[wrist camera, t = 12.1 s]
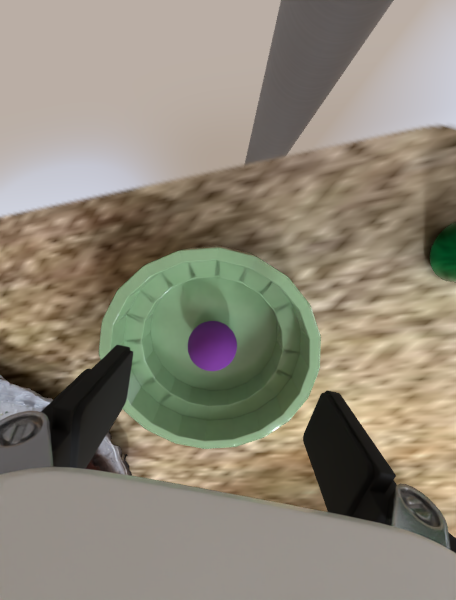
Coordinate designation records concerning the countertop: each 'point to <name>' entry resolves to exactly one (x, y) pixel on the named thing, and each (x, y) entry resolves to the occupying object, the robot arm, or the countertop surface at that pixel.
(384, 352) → the countertop surface
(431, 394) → the countertop surface
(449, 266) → the soda can
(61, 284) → the countertop surface
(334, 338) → the countertop surface
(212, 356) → the ball
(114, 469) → the food plate
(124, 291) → the green bowl
